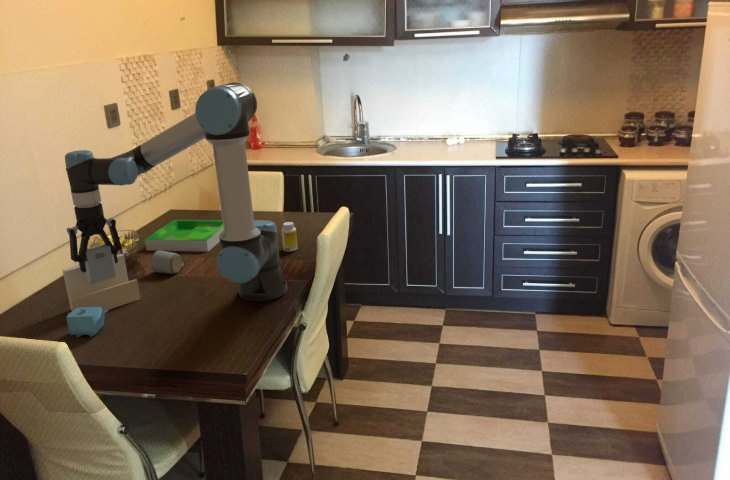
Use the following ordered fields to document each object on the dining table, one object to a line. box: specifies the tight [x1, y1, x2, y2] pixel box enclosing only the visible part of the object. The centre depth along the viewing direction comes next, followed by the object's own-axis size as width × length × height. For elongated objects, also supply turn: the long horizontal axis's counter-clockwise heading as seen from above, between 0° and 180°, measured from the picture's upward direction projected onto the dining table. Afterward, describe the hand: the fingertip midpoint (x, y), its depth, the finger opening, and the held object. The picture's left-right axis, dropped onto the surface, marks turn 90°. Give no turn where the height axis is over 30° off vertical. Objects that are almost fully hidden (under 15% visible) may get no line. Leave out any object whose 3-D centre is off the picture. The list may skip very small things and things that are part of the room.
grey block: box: [85, 243, 116, 284], centre depth 187 cm, size 4×7×10 cm, turn 134°
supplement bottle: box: [280, 221, 299, 252], centre depth 231 cm, size 6×6×10 cm
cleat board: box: [62, 253, 141, 312], centre depth 189 cm, size 9×18×13 cm, turn 134°
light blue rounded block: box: [65, 307, 110, 338], centre depth 173 cm, size 12×6×8 cm, turn 90°
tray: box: [144, 219, 224, 253], centre depth 247 cm, size 25×25×5 cm
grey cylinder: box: [150, 250, 185, 275], centre depth 215 cm, size 11×8×8 cm
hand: (101, 277), depth 188 cm, fingers closed on grey block, 7 cm apart
